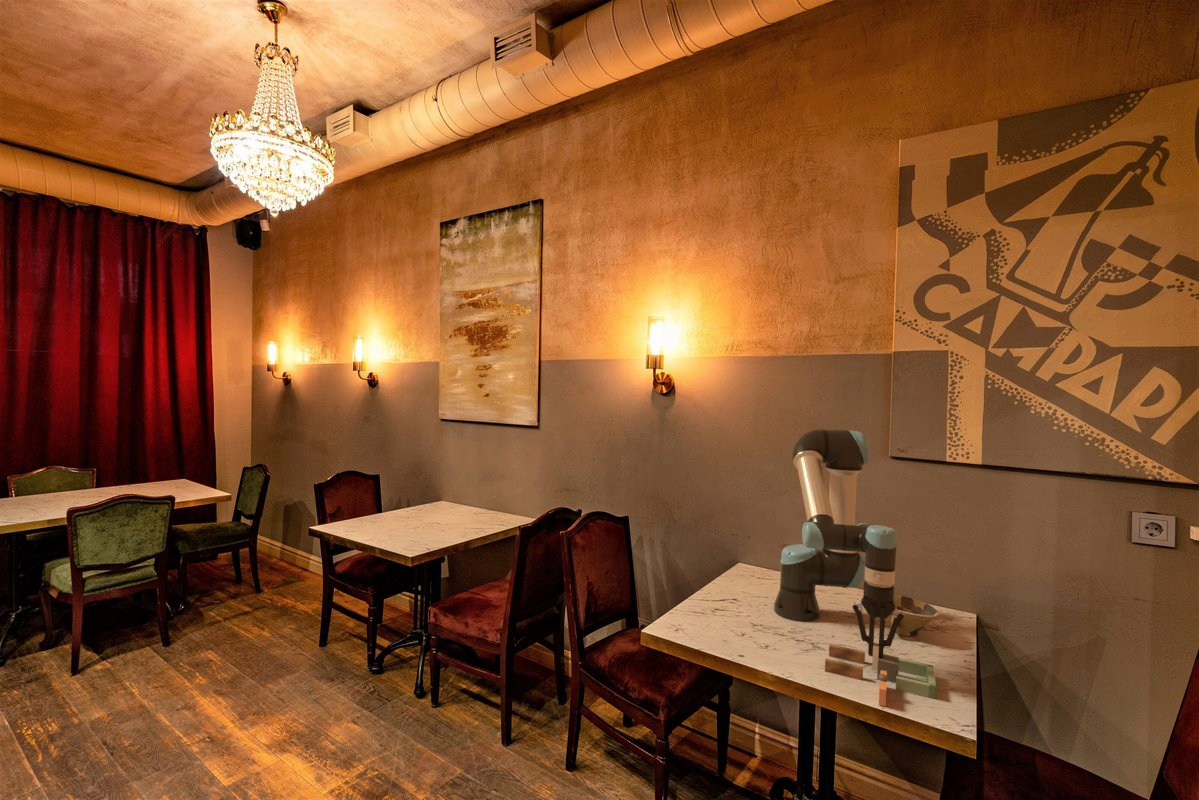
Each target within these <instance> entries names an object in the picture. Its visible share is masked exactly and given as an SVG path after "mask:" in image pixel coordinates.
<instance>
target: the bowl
mask: <svg viewBox="0 0 1199 800" xmlns="http://www.w3.org/2000/svg"><path fill="white" fill-rule="evenodd" d="M894 604H895V608H896V609H898V610H899V611H902V612H903V613H904V618H903V619H902V620H901V621H900V622H899V624H898V627H897V630H896V633H895V635H901V636H905V637H906V636H907V637H911V638H913V637H917V636H918V635H919V631H921V630H922V629H923V628H925V627H926V626H927V625H928V624H929V623H930V622H932V621H935V620H937V619H938V618H939V617H940V615H941V614H940V611H938V610H937V609H936V608H935V607H933V606H932V605H930V604H928V603H926V602H924V601H921V600H919V599H916V598H911V597H909V596H908V597H907V596H905V595H896V594H894ZM886 619H888V620H889V622H890V627H891V626H892V623H893V620H894V612H892V613H891V614H890V615H889V616H888V617H887V618H886Z"/></svg>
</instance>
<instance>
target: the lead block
mask: <svg viewBox="0 0 1199 800" xmlns="http://www.w3.org/2000/svg"><path fill="white" fill-rule="evenodd" d="M899 658H900V657H898V656H895V655H890V654H886V653H883V658H878V671H876V673H877V675H876V676H877V677H876V679H878V680H879V674H880V672H881V670H883V671H887V676H888V681H887V682H892V683H895V684H896V676H899V671H898V670H899Z"/></svg>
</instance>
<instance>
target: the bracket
mask: <svg viewBox="0 0 1199 800" xmlns="http://www.w3.org/2000/svg"><path fill="white" fill-rule="evenodd" d="M934 669H935V668H934V665H932V664H927V663H924V662H919V661H915V660H914V661H913V660H910V659H904V658H900V657H899V670H898V672H902V673H906V674H912V675H915V676H919V677H924V678H926V681H925V682H924V681H921V680H917V679H913V678H912V679H911V678H908V677H903V676H899V675H898V676H896V683H895V691H896V690H897V691H901V692H905V693H909V694H912V695H917V696H922V697H925V698H929V699H933V700H937V685H936V683H937V682H936V676H935V675H936V674H935V670H934Z"/></svg>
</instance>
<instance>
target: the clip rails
mask: <svg viewBox="0 0 1199 800" xmlns="http://www.w3.org/2000/svg"><path fill="white" fill-rule="evenodd" d="M828 645H829V646H828V657H831V658H836V659H839V660H836V659H830V658H825V659H824V661H825V662H824V672H826V673H831V674H836V675H839V676H843V677H846V678H847V677H848V678H852V679H856V680H860V681H863V679H864V677H863V676H864V666H861V665H857V664H856V665H855V664H852V663H849V662H854V663H858V664H862V665H865V663H866V662H865V660H866V651H864V650H858V649H855V648H849V647H845V646H839V645H835V644H831V643H829V644H828ZM840 660H845V661H848V663H847V662H844V661H840Z"/></svg>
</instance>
